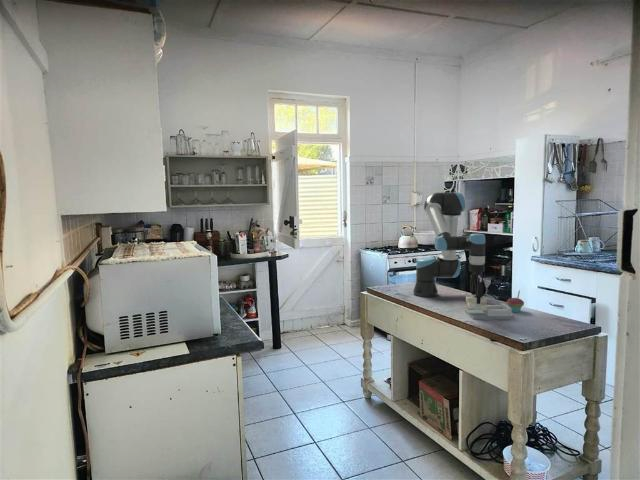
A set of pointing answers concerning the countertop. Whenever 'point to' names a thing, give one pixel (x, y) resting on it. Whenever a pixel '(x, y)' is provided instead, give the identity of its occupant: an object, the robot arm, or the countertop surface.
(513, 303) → the cupcake
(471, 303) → the panel block
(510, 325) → the countertop surface
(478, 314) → the rail board
